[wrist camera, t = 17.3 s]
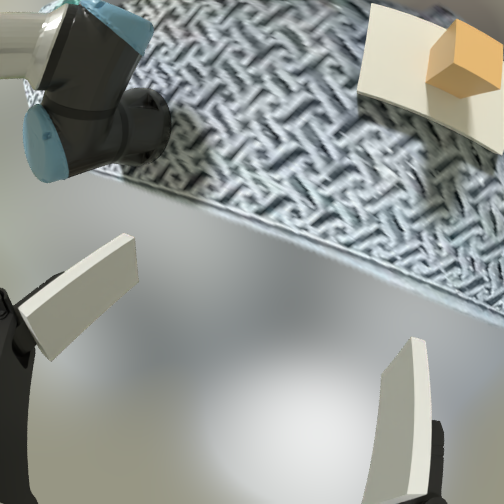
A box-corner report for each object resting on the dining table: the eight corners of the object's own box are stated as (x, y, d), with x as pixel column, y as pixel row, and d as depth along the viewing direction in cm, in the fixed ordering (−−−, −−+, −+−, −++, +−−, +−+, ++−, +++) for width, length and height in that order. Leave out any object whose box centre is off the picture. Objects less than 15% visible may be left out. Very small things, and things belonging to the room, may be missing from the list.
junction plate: (357, 93, 30) (356, 83, 23) (371, 11, 23) (371, -15, 16) (493, 153, 25) (520, 161, 18) (506, 71, 18) (532, 63, 11)
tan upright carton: (425, 82, 23) (453, 62, 14) (430, 49, 21) (456, 18, 11) (460, 98, 22) (500, 89, 12) (464, 65, 20) (502, 44, 10)
